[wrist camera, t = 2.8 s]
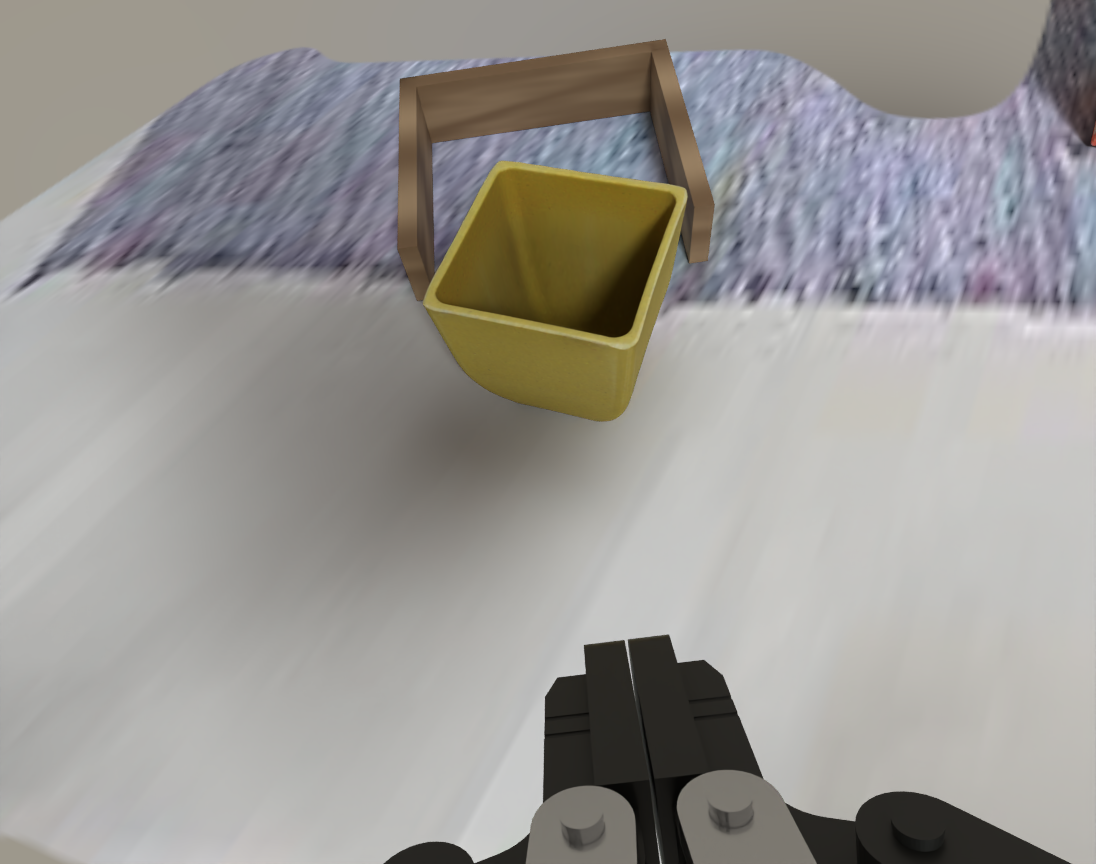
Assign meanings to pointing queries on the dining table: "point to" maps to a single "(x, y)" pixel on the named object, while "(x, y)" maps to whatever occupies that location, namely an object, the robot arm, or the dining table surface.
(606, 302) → the flower pot
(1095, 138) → the cracker box
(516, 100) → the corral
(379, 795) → the dining table surface
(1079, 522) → the dining table surface
